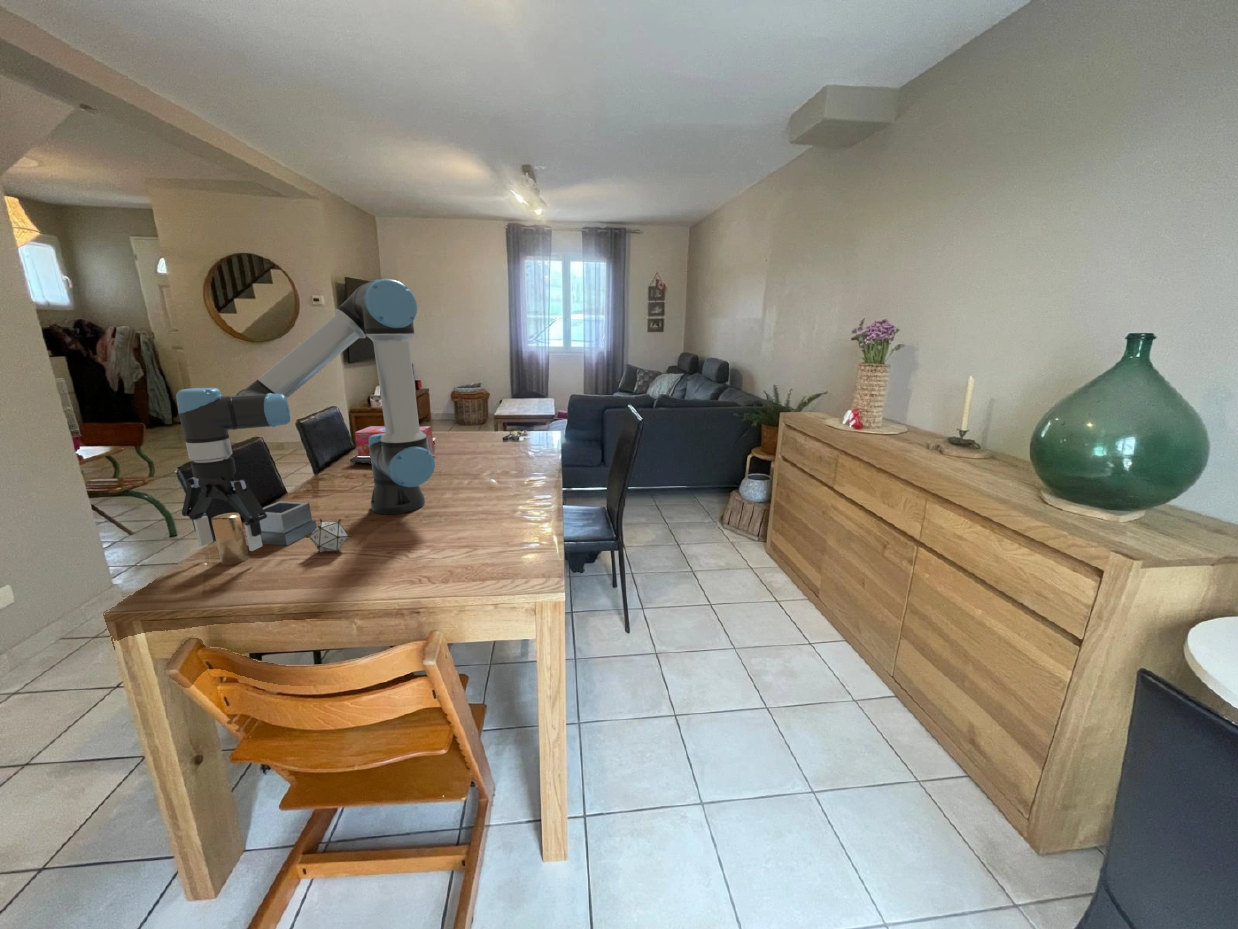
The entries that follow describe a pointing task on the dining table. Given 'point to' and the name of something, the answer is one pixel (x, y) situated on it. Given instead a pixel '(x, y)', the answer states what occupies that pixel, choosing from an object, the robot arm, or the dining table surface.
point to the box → (365, 433)
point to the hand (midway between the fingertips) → (231, 546)
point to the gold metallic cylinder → (230, 538)
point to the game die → (328, 536)
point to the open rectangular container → (286, 523)
